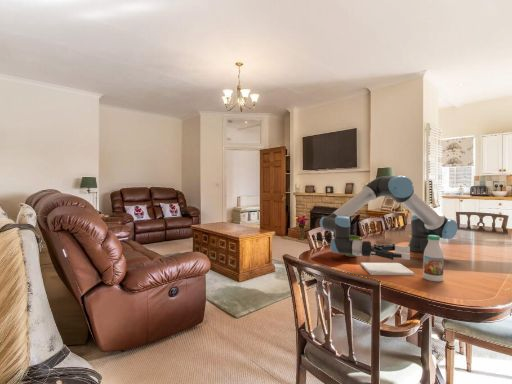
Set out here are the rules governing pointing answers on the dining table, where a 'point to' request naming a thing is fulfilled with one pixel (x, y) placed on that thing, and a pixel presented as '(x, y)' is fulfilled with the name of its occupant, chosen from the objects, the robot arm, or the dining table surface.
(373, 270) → the placemat
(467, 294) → the dining table surface
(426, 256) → the milk bottle
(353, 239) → the plant pot
